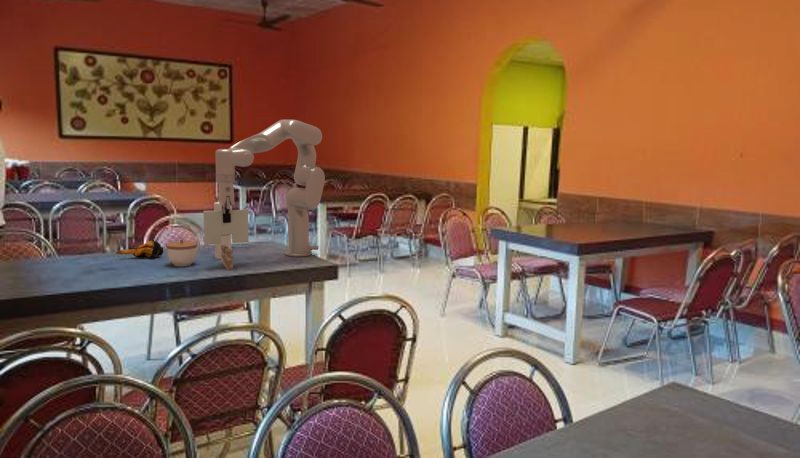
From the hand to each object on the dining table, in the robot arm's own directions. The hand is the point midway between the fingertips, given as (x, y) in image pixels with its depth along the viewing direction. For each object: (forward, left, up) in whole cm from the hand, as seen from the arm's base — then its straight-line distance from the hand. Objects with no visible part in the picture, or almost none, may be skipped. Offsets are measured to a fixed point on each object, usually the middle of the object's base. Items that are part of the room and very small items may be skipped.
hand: (226, 222), depth 259 cm
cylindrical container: (-2, -19, -19) cm, 28 cm away
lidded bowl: (+17, -9, -19) cm, 27 cm away
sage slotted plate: (0, 0, -9) cm, 9 cm away
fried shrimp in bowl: (+32, -29, -19) cm, 48 cm away
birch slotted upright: (0, 0, -19) cm, 19 cm away
